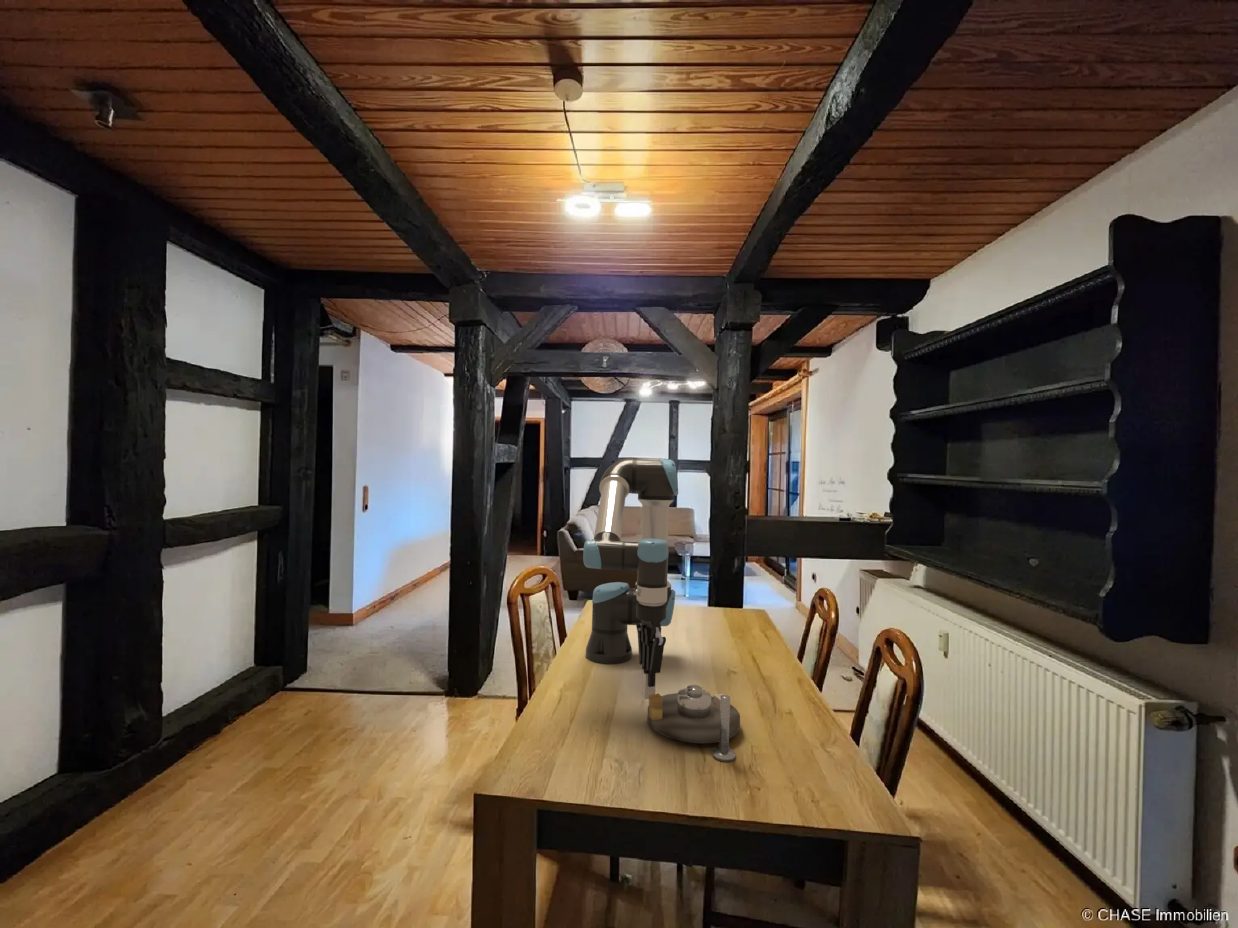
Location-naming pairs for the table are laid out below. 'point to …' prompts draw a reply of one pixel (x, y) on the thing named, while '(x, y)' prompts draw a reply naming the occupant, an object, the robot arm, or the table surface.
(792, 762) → the table surface
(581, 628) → the table surface
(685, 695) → the cover
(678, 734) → the turntable
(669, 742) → the table surface
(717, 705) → the dial post
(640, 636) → the robot arm
